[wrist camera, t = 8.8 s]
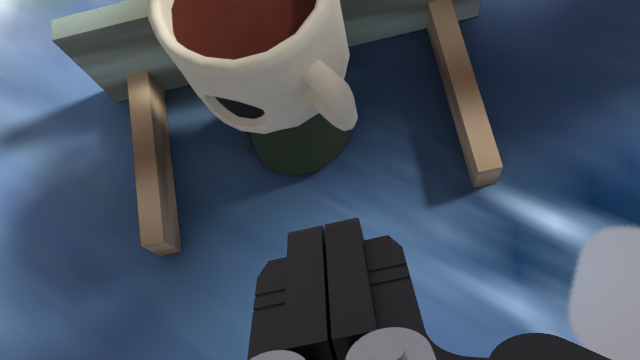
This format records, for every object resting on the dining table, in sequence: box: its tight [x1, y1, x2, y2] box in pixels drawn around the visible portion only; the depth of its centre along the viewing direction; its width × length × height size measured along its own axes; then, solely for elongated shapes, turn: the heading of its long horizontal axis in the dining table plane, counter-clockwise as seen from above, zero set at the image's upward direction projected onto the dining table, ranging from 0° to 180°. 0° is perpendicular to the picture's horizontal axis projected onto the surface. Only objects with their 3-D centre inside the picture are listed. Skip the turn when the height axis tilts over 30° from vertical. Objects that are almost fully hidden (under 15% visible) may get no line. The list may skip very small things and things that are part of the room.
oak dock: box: [51, 0, 503, 256], centre depth 30 cm, size 11×22×7 cm, turn 101°
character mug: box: [148, 0, 358, 176], centre depth 28 cm, size 11×7×13 cm, turn 44°
